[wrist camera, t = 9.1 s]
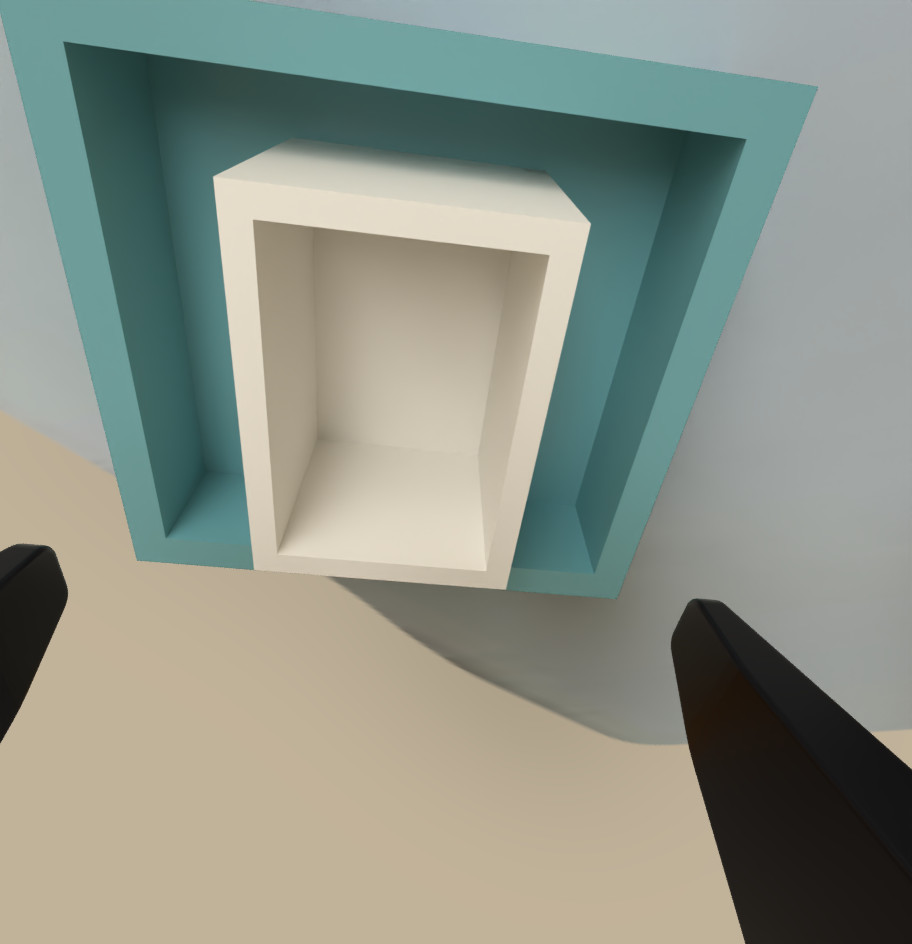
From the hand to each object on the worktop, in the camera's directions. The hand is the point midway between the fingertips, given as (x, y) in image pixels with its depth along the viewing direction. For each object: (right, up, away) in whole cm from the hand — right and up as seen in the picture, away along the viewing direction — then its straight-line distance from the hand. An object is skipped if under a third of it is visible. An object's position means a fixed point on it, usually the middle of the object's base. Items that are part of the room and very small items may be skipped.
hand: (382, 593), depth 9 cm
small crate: (0, +6, +9) cm, 11 cm away
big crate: (0, +7, +10) cm, 12 cm away
